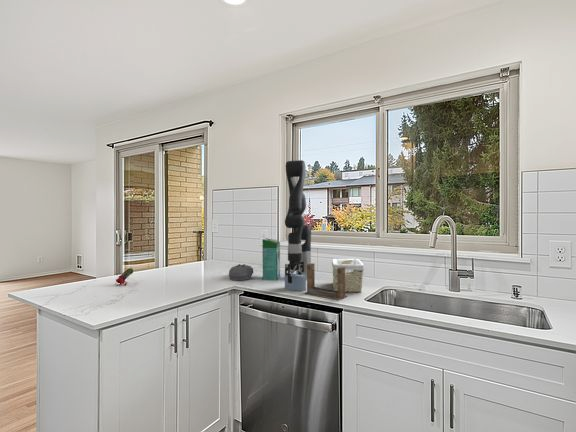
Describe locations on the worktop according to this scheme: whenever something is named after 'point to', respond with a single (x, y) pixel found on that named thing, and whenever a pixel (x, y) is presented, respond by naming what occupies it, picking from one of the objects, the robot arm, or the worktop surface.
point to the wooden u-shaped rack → (325, 292)
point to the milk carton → (271, 259)
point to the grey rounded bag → (240, 272)
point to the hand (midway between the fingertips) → (294, 281)
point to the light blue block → (296, 282)
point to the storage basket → (349, 274)
